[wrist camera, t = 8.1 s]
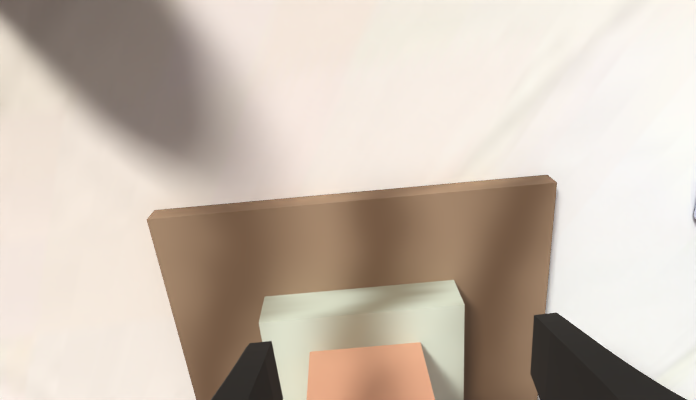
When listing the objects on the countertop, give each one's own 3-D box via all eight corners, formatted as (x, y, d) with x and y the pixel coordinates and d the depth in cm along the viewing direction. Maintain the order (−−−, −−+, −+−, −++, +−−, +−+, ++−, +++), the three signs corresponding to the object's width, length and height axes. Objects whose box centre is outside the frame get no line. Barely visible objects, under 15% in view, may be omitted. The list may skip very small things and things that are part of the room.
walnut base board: (547, 174, 22) (578, 200, 19) (524, 455, 29) (544, 504, 26) (154, 210, 22) (128, 240, 19) (226, 481, 29) (215, 532, 26)
